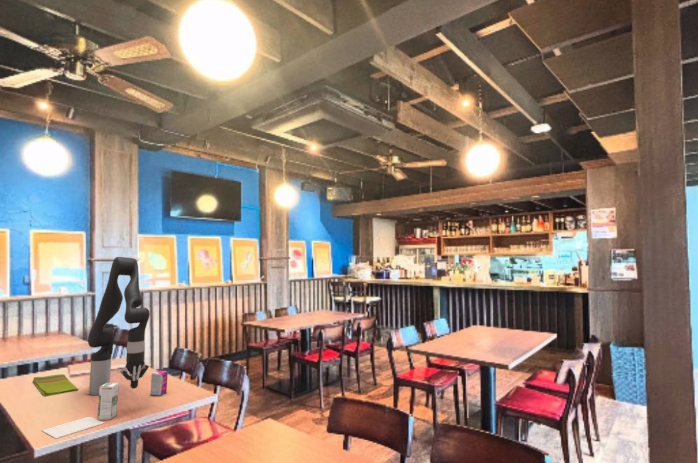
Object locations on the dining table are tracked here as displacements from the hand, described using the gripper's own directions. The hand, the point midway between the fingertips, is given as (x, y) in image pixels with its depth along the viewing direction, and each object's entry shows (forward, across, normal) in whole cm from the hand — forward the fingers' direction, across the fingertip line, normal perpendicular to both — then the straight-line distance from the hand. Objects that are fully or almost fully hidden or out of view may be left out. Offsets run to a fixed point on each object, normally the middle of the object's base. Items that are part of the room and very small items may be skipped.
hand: (134, 388), depth 190 cm
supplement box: (+10, -20, -11) cm, 25 cm away
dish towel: (+11, +5, -71) cm, 72 cm away
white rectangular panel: (+10, +24, -1) cm, 26 cm away
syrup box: (+10, +11, 0) cm, 15 cm away
